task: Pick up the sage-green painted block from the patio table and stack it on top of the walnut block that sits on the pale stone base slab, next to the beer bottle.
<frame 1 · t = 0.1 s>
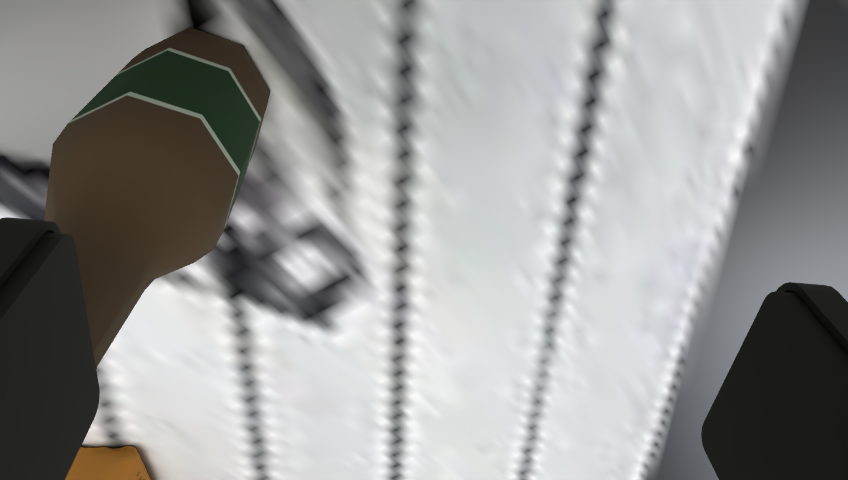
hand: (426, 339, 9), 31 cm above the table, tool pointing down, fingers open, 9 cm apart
beer bottle: (206, 90, 39), on the table
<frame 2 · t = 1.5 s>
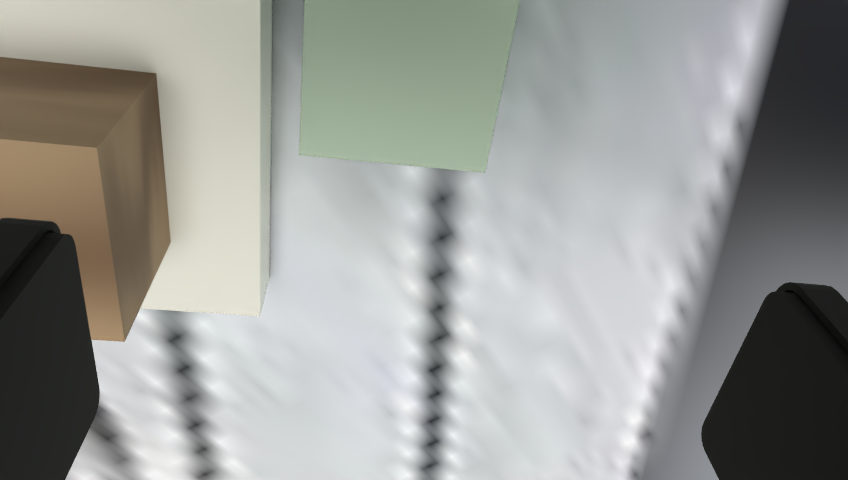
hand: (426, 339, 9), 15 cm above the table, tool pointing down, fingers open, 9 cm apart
base slab: (93, 122, 23), on the table
sage block: (399, 9, 22), on the table
walnut block: (64, 155, 21), point 2 cm above the table, touching base slab
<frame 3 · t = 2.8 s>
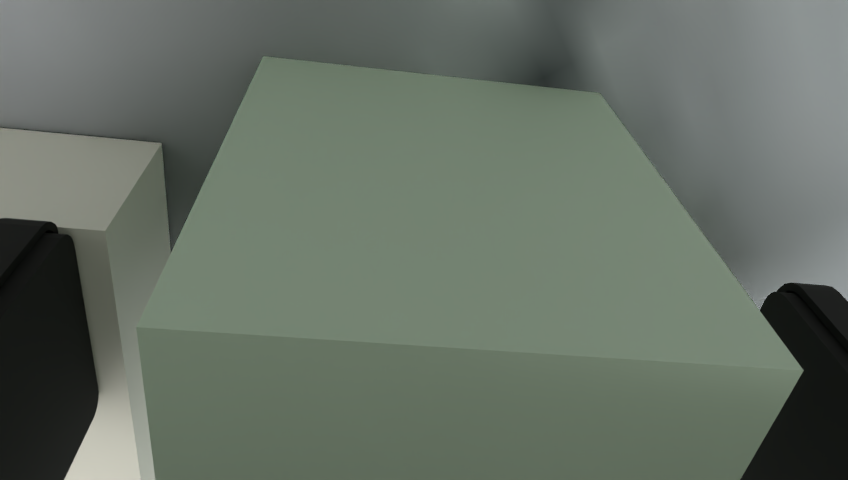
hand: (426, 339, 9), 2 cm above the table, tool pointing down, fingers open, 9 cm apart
sage block: (415, 218, 11), on the table
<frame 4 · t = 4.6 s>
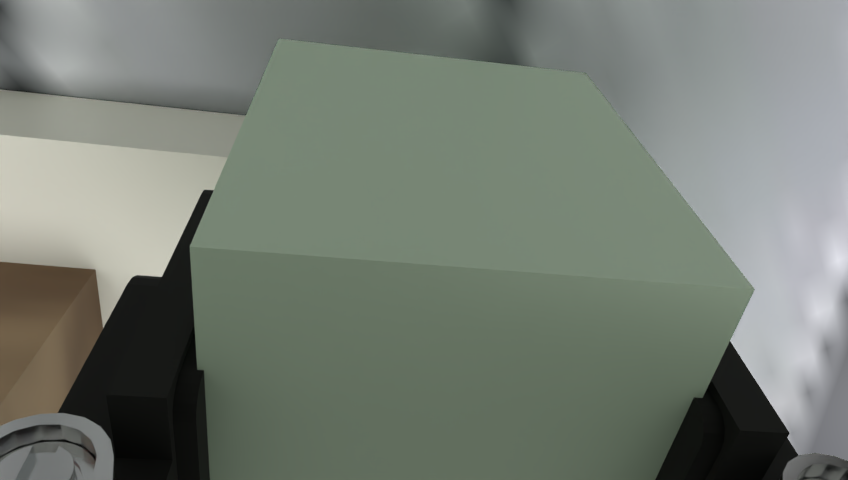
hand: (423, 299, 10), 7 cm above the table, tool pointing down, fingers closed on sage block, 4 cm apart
base slab: (26, 304, 18), on the table
sage block: (416, 192, 12), point 4 cm above the table, touching gripper
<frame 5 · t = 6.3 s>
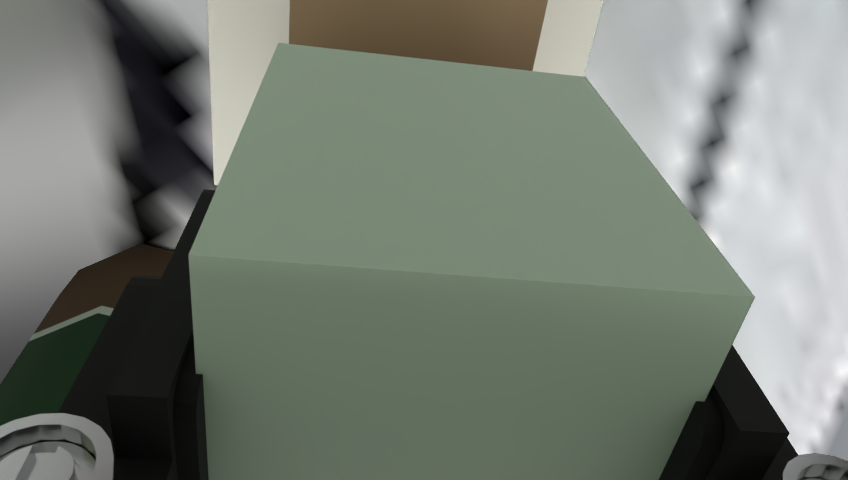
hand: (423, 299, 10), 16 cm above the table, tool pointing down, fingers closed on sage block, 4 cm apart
base slab: (402, 13, 23), on the table
sage block: (416, 196, 12), point 13 cm above the table, touching gripper
walnut block: (404, 33, 21), point 2 cm above the table, touching base slab
beer bottle: (163, 309, 30), on the table
when the fingers open (10 cm above the table, at t = 8.1 s): sage block stays where it is, resting on walnut block.
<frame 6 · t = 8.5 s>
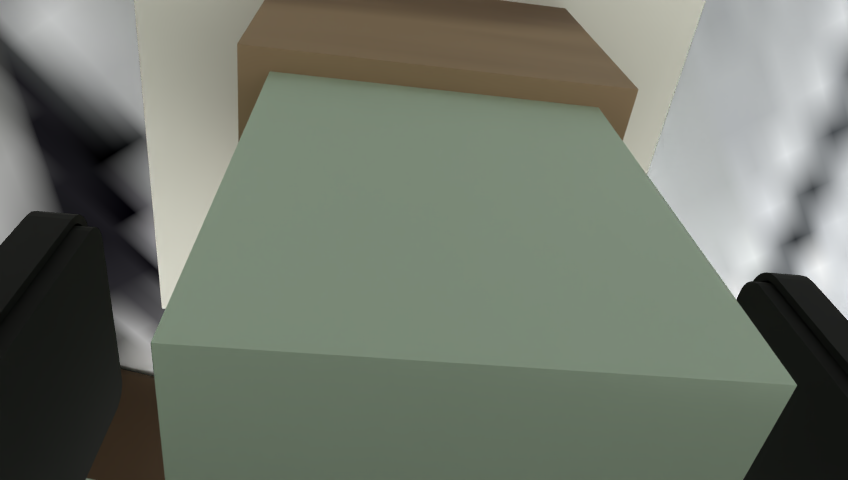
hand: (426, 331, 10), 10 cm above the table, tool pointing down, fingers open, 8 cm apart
base slab: (406, 86, 18), on the table
sage block: (417, 230, 12), point 7 cm above the table, touching walnut block
walnut block: (409, 124, 16), point 2 cm above the table, touching base slab, sage block
beer bottle: (112, 430, 25), on the table
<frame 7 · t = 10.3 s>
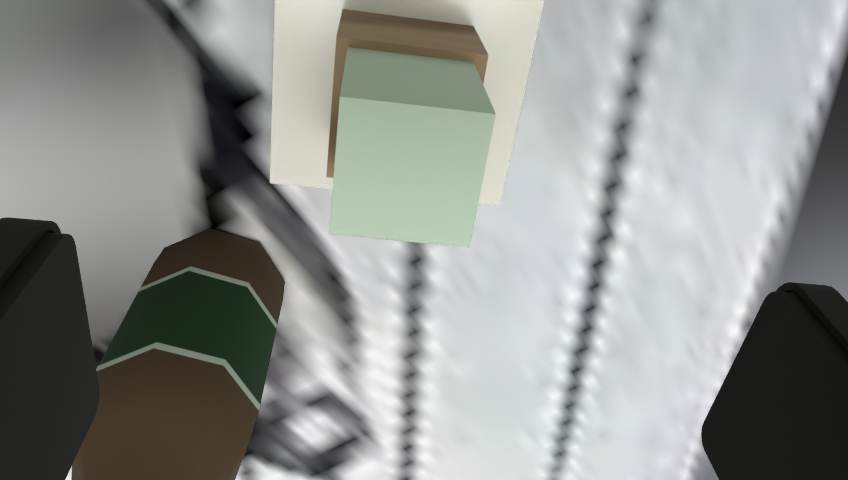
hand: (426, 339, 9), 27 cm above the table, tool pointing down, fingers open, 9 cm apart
base slab: (399, 67, 35), on the table
sage block: (403, 115, 28), point 7 cm above the table, touching walnut block
walnut block: (400, 81, 32), point 2 cm above the table, touching base slab, sage block
beer bottle: (221, 279, 41), on the table
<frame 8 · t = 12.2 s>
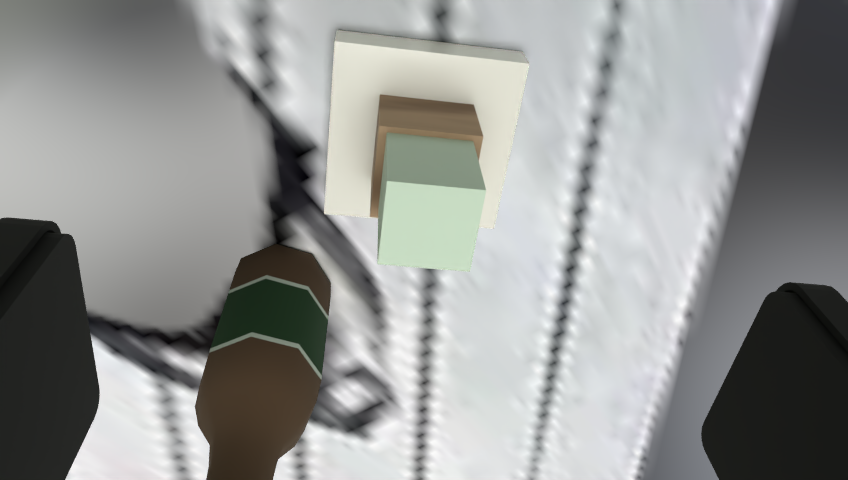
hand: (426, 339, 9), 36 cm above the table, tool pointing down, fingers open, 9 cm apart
base slab: (419, 127, 47), on the table
sage block: (424, 175, 40), point 7 cm above the table, touching walnut block
walnut block: (421, 143, 45), point 2 cm above the table, touching base slab, sage block
beer bottle: (282, 281, 53), on the table
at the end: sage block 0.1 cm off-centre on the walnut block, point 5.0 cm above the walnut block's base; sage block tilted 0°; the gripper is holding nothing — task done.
